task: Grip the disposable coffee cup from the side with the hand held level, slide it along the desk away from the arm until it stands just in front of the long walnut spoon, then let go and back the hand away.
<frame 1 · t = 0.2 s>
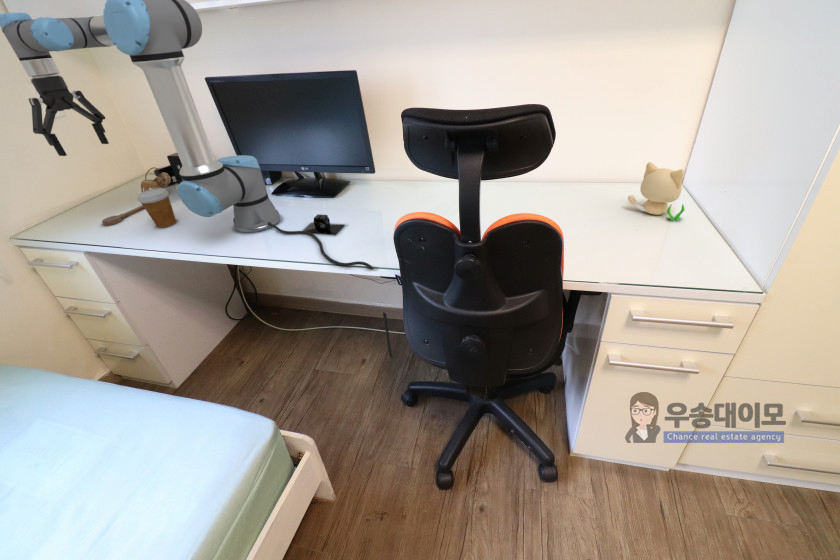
hand: (85, 149, 127), 28 cm above the table, tool pointing down, fingers open, 13 cm apart
kitten: (655, 213, 121), on the table
disposable coffee cup: (167, 224, 142), on the table
spoon: (133, 212, 153), on the table
build plate: (323, 229, 129), on the table
lion figurine: (160, 194, 170), on the table
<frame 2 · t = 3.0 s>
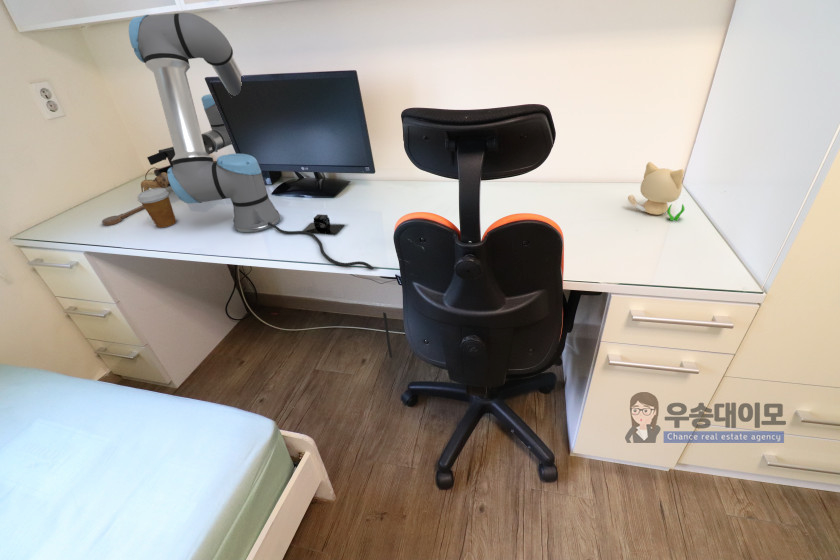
hand: (163, 162, 138), 20 cm above the table, tool horizontal, fingers open, 13 cm apart
nothing on the table moved.
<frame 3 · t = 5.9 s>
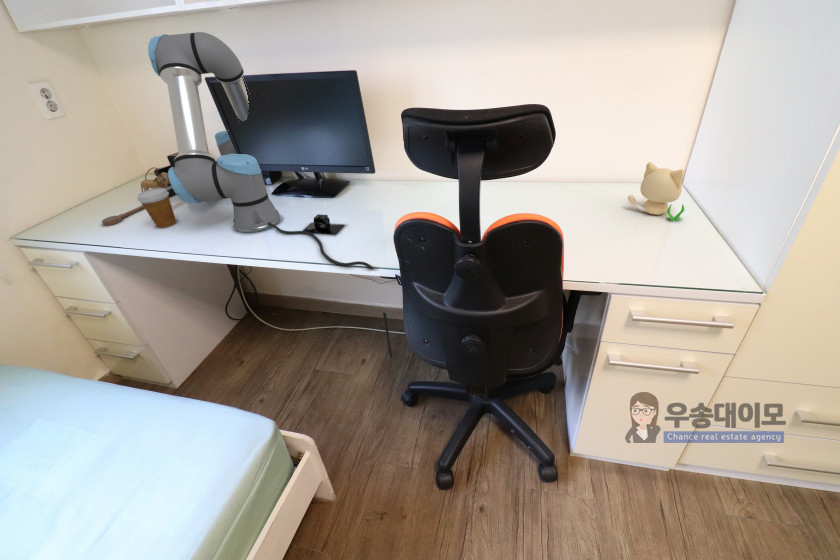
hand: (176, 197, 144), 7 cm above the table, tool horizontal, fingers open, 13 cm apart
nothing on the table moved.
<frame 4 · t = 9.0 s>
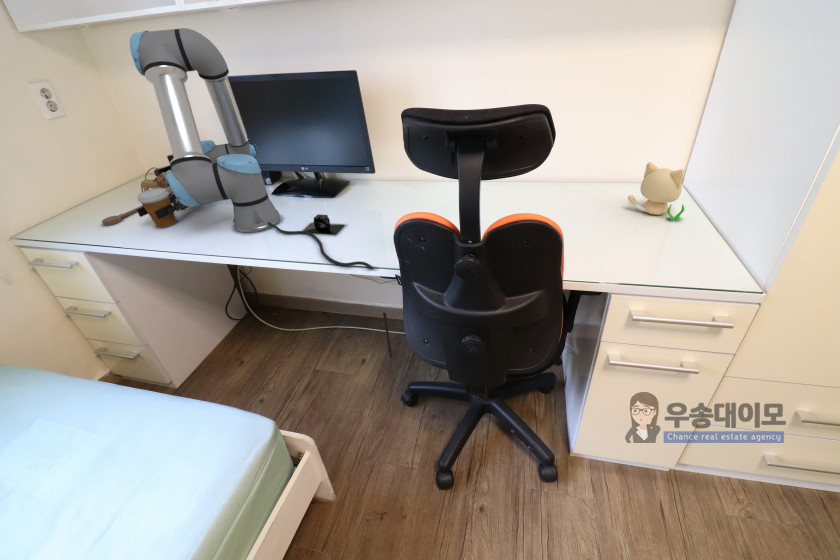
hand: (147, 214, 135), 6 cm above the table, tool horizontal, fingers closed on disposable coffee cup, 8 cm apart
disposable coffee cup: (167, 224, 142), on the table, touching gripper
everything else where it was.
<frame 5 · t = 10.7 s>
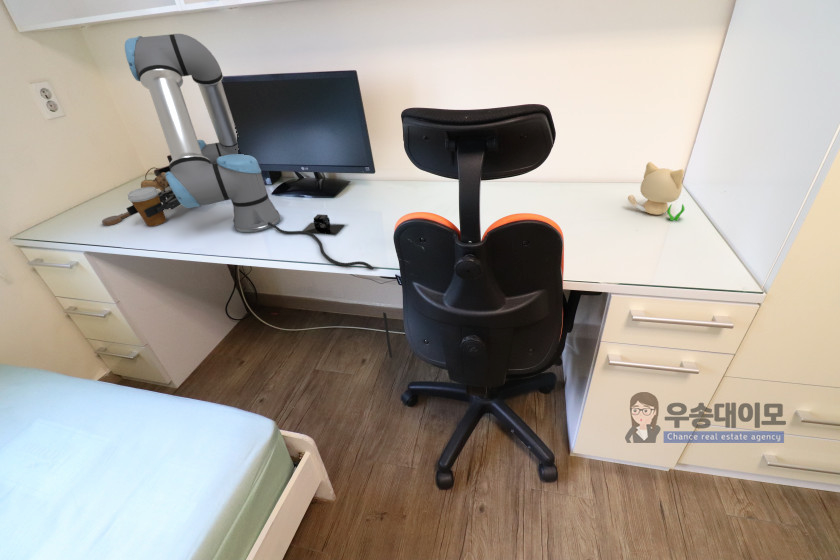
hand: (137, 212, 137), 6 cm above the table, tool horizontal, fingers closed on disposable coffee cup, 8 cm apart
disposable coffee cup: (157, 222, 144), on the table, touching gripper
everything else where it was.
when the fingers open (6 cm above the table, at t = 12.9 s): disposable coffee cup stays where it is, on the table.
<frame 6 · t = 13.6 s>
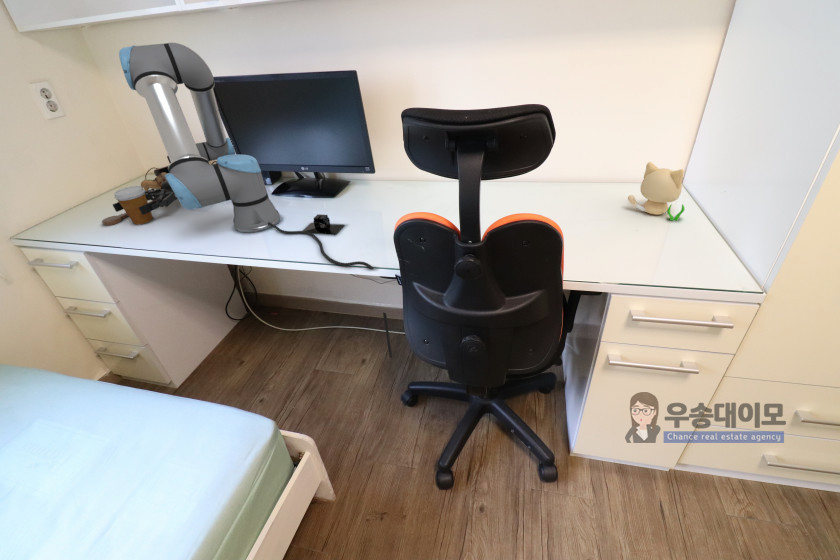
hand: (127, 209, 140), 6 cm above the table, tool horizontal, fingers open, 13 cm apart
disposable coffee cup: (143, 221, 146), on the table
everything else where it was.
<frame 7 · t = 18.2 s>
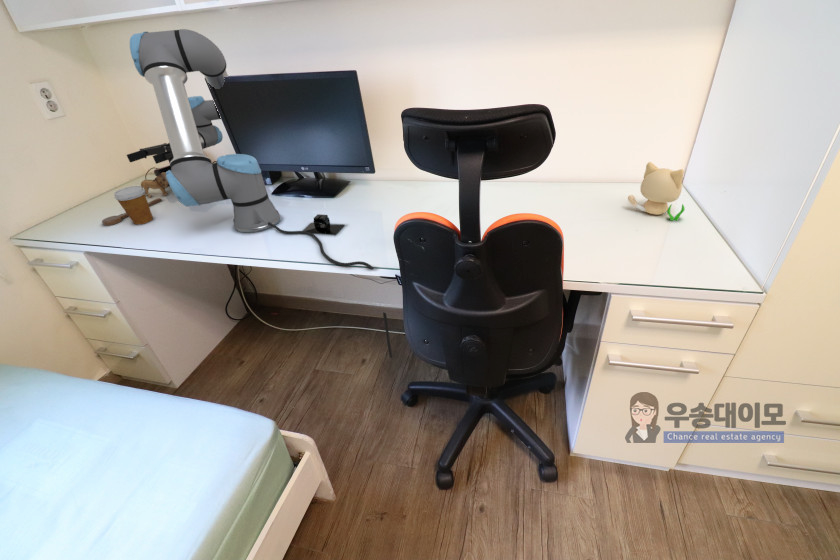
hand: (141, 159, 142), 20 cm above the table, tool horizontal, fingers open, 13 cm apart
nothing on the table moved.
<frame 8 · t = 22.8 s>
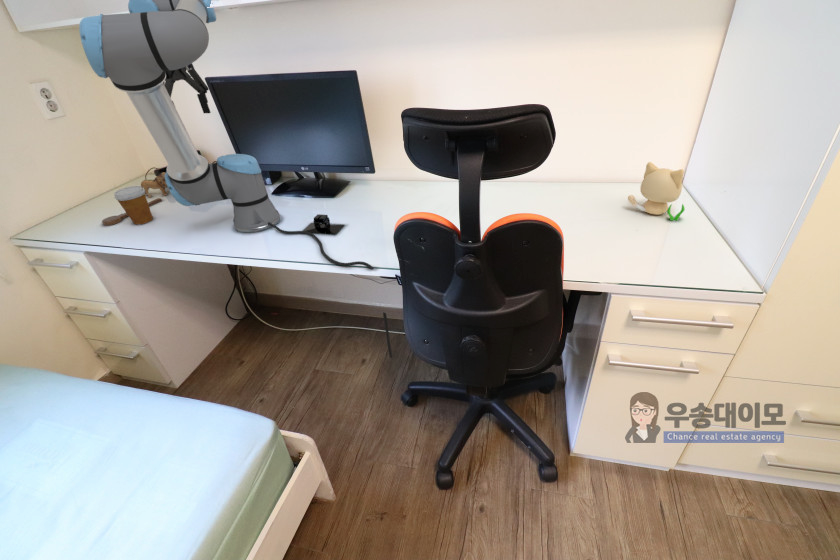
hand: (192, 117, 140), 32 cm above the table, tool pointing down, fingers open, 13 cm apart
nothing on the table moved.
at the end: disposable coffee cup inside the target area on the table beside the spoon (0.7 cm from its centre), on the table; disposable coffee cup tilted 0°; the gripper is holding nothing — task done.
